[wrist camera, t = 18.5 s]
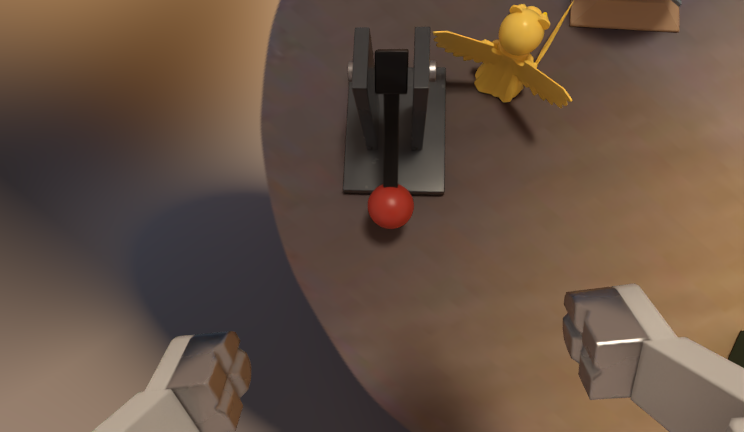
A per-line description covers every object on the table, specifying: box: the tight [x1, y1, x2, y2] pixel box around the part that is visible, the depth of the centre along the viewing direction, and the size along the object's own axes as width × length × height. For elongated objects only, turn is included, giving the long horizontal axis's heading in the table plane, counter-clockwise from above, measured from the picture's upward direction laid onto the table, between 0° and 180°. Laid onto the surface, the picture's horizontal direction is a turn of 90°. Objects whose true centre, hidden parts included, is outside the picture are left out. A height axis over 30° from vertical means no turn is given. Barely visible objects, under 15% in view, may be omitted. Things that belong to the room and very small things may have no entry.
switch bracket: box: [343, 27, 446, 195], centre depth 35 cm, size 12×9×13 cm
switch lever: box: [368, 49, 414, 229], centre depth 32 cm, size 13×4×4 cm
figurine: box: [433, 0, 574, 108], centre depth 37 cm, size 12×12×9 cm
